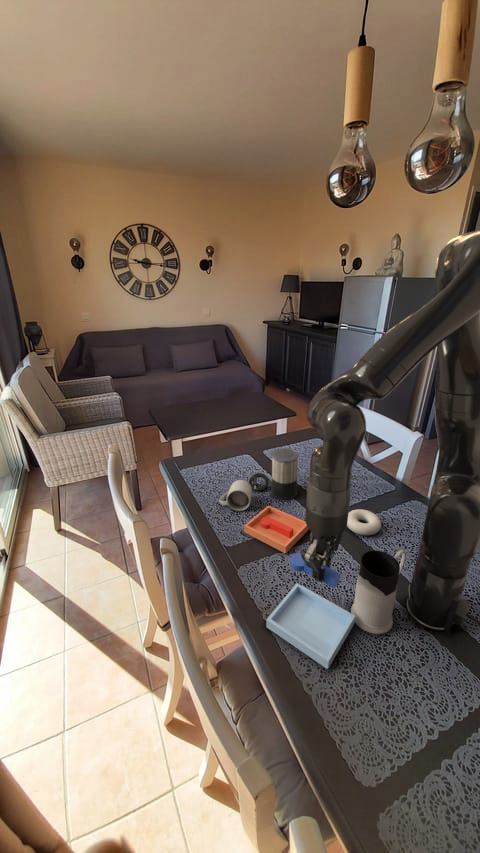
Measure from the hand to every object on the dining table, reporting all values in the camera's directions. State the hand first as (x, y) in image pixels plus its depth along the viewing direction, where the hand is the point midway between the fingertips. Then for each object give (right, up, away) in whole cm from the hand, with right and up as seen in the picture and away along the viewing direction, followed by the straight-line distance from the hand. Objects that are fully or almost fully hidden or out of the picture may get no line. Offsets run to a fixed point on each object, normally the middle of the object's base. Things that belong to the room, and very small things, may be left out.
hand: (321, 574), depth 72 cm
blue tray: (-1, -13, +6) cm, 15 cm away
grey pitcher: (+15, -12, +9) cm, 21 cm away
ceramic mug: (-17, +4, +47) cm, 50 cm away
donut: (+20, 0, +35) cm, 40 cm away
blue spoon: (-1, 0, +1) cm, 2 cm away
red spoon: (-5, -1, +34) cm, 35 cm away
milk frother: (-5, +7, +54) cm, 55 cm away
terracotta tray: (-5, -1, +34) cm, 35 cm away
